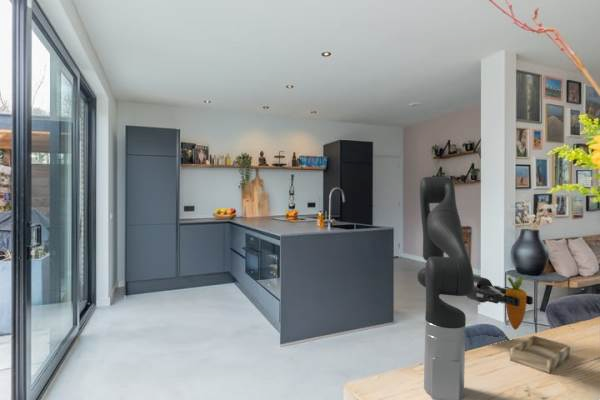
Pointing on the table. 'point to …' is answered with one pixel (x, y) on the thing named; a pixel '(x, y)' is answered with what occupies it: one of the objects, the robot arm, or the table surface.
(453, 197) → the robot arm
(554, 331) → the table surface
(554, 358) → the oak tray
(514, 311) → the carrot
